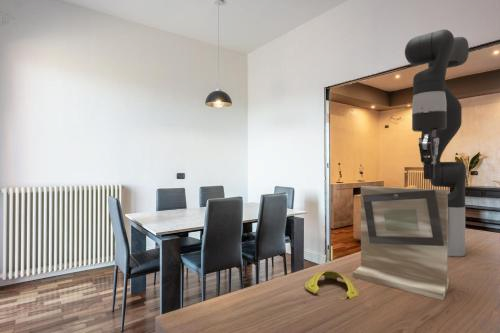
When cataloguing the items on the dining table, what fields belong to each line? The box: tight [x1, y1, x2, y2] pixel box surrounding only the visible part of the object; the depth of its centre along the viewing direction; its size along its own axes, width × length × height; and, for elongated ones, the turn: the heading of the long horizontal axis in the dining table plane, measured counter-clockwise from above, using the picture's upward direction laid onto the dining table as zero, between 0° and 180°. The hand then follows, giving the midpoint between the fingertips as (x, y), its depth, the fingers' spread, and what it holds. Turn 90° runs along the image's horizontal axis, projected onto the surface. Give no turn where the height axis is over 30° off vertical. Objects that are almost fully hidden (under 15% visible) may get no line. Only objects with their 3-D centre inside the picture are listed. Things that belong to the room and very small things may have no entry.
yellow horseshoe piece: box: [304, 270, 360, 300], centre depth 75 cm, size 13×13×4 cm
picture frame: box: [363, 190, 444, 246], centre depth 78 cm, size 2×18×14 cm, turn 50°
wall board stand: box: [352, 185, 450, 301], centre depth 80 cm, size 12×22×26 cm, turn 49°
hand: (428, 179), depth 74 cm, fingers closed
